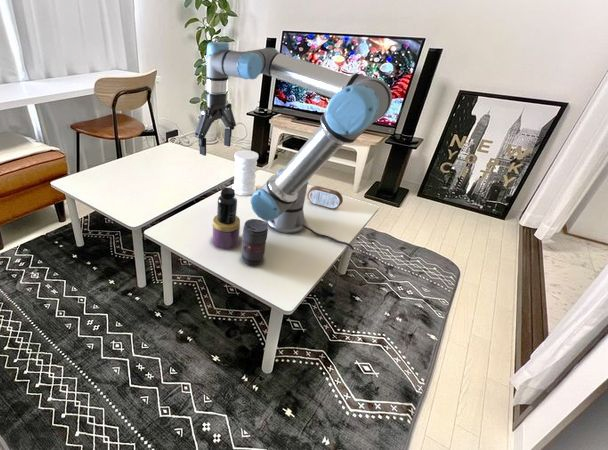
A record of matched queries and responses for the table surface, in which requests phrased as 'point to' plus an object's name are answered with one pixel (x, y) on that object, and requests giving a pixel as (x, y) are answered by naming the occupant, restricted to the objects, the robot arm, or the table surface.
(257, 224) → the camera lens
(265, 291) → the table surface
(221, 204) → the supplement bottle
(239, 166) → the decorative container
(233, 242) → the jar
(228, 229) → the jar lid
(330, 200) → the tin
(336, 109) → the robot arm
